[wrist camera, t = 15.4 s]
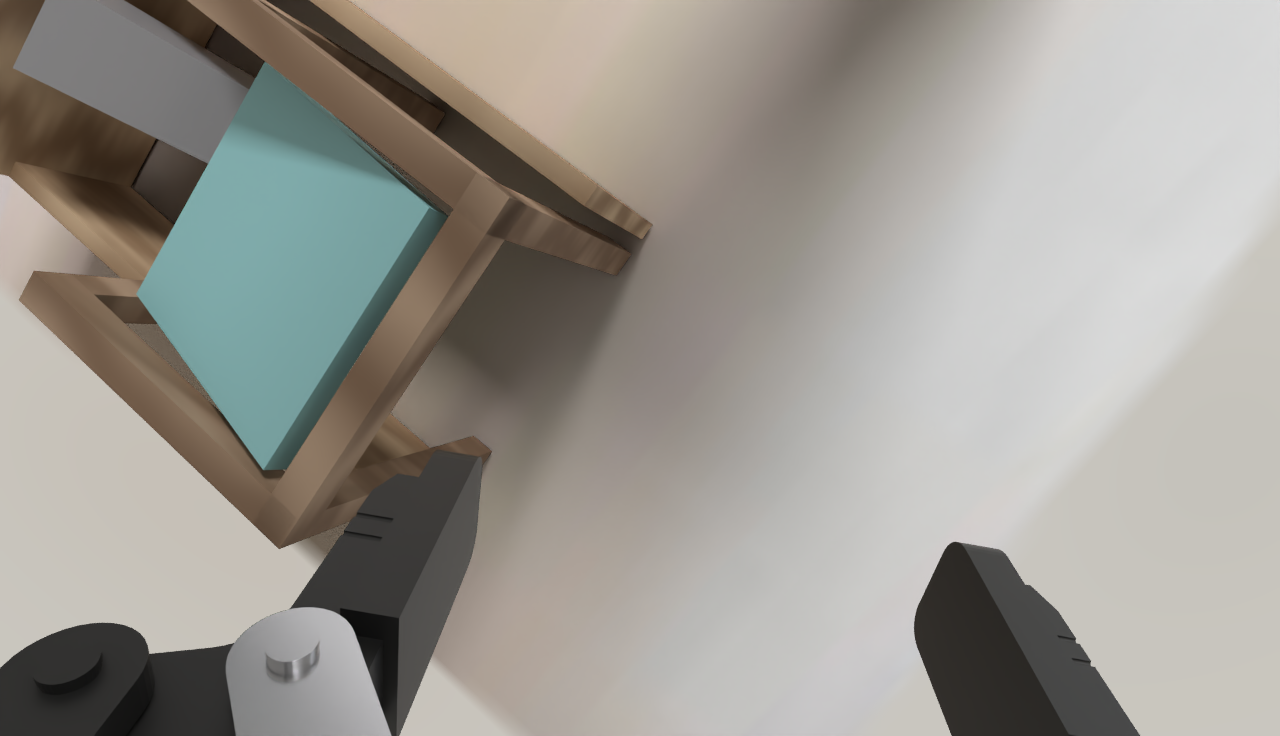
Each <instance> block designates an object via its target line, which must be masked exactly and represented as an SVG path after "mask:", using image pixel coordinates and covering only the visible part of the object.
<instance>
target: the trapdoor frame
mask: <svg viewBox="0 0 1280 736" xmlns="http://www.w3.org/2000/svg"><path fill="white" fill-rule="evenodd" d="M124 1H126V2H128V3H130V4H131V5H133V6H135V7H136V8H138V9H140V10H141V11H143V12H145V13H146V14H148V15H150V16H151V17H153V18H155V19H156V20H158V21H160V22H162V23H163V24H165V25H167V26H168V27H170V28H172V29H173V30H175V31H177V32H178V33H180V34H182V35H183V36H185V37H187V38H188V39H190V40H192V41H193V42H195V43H197V44H199V45H200V46H202V47H204V48H205V46H206V44H207V42H208V40H209V38H210V36H211V34H212V33H213V31H214V29H215V27H216V25H217V24H218V25H219V26H221V27H222V28H223V29H224V30H226V31H227V32H228V33H229V34H231V35H232V36H233V37H235V38H236V39H237V40H238V41H240V42H241V43H242V44H244V45H245V46H246V47H247V48H249V49H250V50H251V51H252V52H254V53H255V54H256V55H258V56H259V57H260V58H261V59H263V60H264V61H265V62H266V63H268V64H269V65H270V66H272V67H273V68H274V69H275V70H277V71H278V72H279V73H281V74H282V75H283V76H284V77H286V78H287V79H288V80H289V81H291V82H292V83H293V84H295V85H296V86H297V87H298V88H300V89H301V90H302V91H304V92H305V93H306V94H307V95H309V96H310V97H311V98H312V99H314V100H315V101H316V102H318V103H319V104H320V105H321V106H323V107H324V108H325V109H326V110H328V111H329V112H330V113H332V114H333V115H334V116H335V117H337V118H338V119H339V120H341V121H342V122H343V123H344V124H346V125H347V126H348V127H349V128H351V129H352V130H353V131H355V132H356V133H357V134H358V135H360V136H361V137H362V138H364V139H365V140H366V141H367V142H369V143H370V144H371V145H372V146H374V147H375V148H376V149H378V150H379V151H380V152H381V153H383V154H384V155H385V156H387V157H388V158H389V159H390V160H392V161H393V162H394V163H395V164H397V165H398V166H399V167H401V168H402V169H403V170H404V171H406V172H407V173H408V174H409V175H411V176H412V177H413V178H415V179H416V180H417V181H418V182H420V183H421V184H422V185H424V186H425V187H426V188H427V189H429V190H430V191H431V192H432V193H434V194H435V195H436V196H438V197H439V198H440V199H441V200H443V201H444V202H445V203H447V204H448V205H449V206H450V207H452V208H453V211H452V212H451V214H450V215H449V217H448V219H447V220H446V222H445V223H444V225H443V226H442V228H441V230H440V231H439V233H438V234H437V236H436V237H435V239H434V240H433V242H432V244H431V245H430V247H429V248H428V250H427V251H426V253H425V255H424V256H423V258H422V259H421V261H420V262H419V264H418V265H417V267H416V269H415V270H414V272H413V273H412V275H411V276H410V278H409V280H408V281H407V283H406V284H405V286H404V287H403V289H402V290H401V292H400V294H399V295H398V297H397V298H396V300H395V301H394V303H393V305H392V306H391V308H390V309H389V311H388V312H387V314H386V315H385V317H384V319H383V320H382V322H381V323H380V325H379V326H378V328H377V330H376V331H375V333H374V334H373V336H372V337H371V339H370V341H369V342H368V344H367V345H366V347H365V348H364V350H363V351H362V353H361V355H360V356H359V358H358V359H357V361H356V362H355V364H354V366H353V367H352V369H351V370H350V372H349V373H348V375H347V376H346V377H345V379H344V380H343V382H342V384H341V385H340V387H339V388H338V390H337V391H336V393H335V395H334V396H333V398H332V399H331V401H330V402H329V404H328V405H327V407H326V409H325V410H324V412H323V413H322V415H321V416H320V418H319V420H318V421H317V423H316V424H315V426H314V427H313V429H312V430H311V432H310V434H309V435H308V437H307V438H306V440H305V441H304V443H303V445H302V447H301V448H300V450H299V452H298V453H297V455H296V456H295V458H294V459H293V461H292V462H291V464H290V466H289V467H288V469H287V470H286V472H285V471H284V470H263V469H262V468H261V466H260V465H259V463H258V462H257V461H256V459H255V458H254V457H253V455H252V454H251V452H250V451H249V450H248V448H247V447H246V445H245V444H244V443H243V441H242V440H241V439H240V437H239V436H238V434H237V433H236V432H235V430H234V429H233V427H232V426H231V425H230V423H229V422H228V421H227V419H226V418H225V416H224V415H223V414H222V413H221V412H220V411H219V410H218V409H217V408H216V407H215V406H213V405H212V404H211V403H210V402H209V401H208V400H207V399H206V398H205V397H204V396H203V395H202V394H200V393H199V392H198V391H197V390H196V389H195V388H194V387H193V386H192V385H191V384H190V383H189V382H188V381H186V380H185V379H184V378H183V377H182V376H181V375H180V374H179V373H178V372H177V371H176V370H175V369H174V368H172V367H171V366H170V365H169V364H168V363H167V362H166V361H165V360H164V359H163V358H162V357H161V356H159V355H158V354H157V353H156V352H155V351H154V350H153V349H152V348H151V347H150V346H149V345H148V344H147V343H145V342H144V341H143V340H142V339H141V338H140V337H139V336H138V335H137V334H136V333H135V332H134V331H133V330H131V329H130V328H129V327H128V326H127V325H126V324H125V323H137V324H157V322H156V321H155V320H154V318H153V317H152V315H151V314H150V313H149V311H148V310H147V308H146V307H145V306H144V304H143V303H142V302H141V300H140V299H139V297H138V296H137V295H136V293H137V292H138V290H139V288H140V286H141V284H142V283H143V281H144V279H145V277H146V275H147V274H148V272H149V270H150V268H151V266H152V265H153V263H154V261H155V259H156V257H157V256H158V254H159V252H160V250H161V248H162V246H163V245H164V243H165V241H166V239H167V237H168V236H169V234H170V232H171V230H172V228H173V227H174V225H173V224H172V223H171V222H170V221H169V220H168V219H166V218H165V217H164V216H163V215H162V214H161V213H160V212H158V211H157V210H156V209H155V208H154V207H153V206H152V205H150V204H149V203H148V202H147V201H146V200H145V199H144V198H142V197H141V196H140V195H139V194H138V193H137V192H135V191H134V190H133V189H132V188H131V185H132V183H133V181H134V179H135V177H136V175H137V173H138V172H139V170H140V168H141V166H142V164H143V162H144V160H145V158H146V157H147V155H148V153H149V151H150V149H151V147H152V145H153V143H154V142H155V140H156V138H155V137H153V136H151V135H148V134H146V133H144V132H142V131H140V130H138V129H136V128H134V127H132V126H130V125H128V124H126V123H124V122H122V121H120V120H118V119H116V118H114V117H112V116H110V115H108V114H106V113H104V112H102V111H100V110H97V109H95V108H93V107H91V106H89V105H87V104H85V103H83V102H81V101H79V100H77V99H75V98H73V97H71V96H69V95H67V94H65V93H63V92H61V91H59V90H57V89H55V88H53V87H51V86H49V85H46V84H44V83H42V82H40V81H38V80H36V79H34V78H32V77H30V76H28V75H26V74H24V73H22V72H20V71H18V70H16V69H14V68H13V66H14V64H15V62H16V60H17V58H18V56H19V54H20V52H21V50H22V47H23V45H24V43H25V41H26V39H27V37H28V35H29V33H30V31H31V29H32V27H33V24H34V22H35V20H36V18H37V16H38V14H39V12H40V10H41V8H42V6H43V4H44V2H45V0H0V174H2V175H7V176H9V177H10V178H12V179H13V180H14V181H15V182H16V183H17V184H18V185H19V186H20V187H21V188H22V189H24V190H25V191H26V192H27V193H28V194H29V195H30V196H31V197H32V198H33V199H35V200H36V201H37V202H38V203H39V204H40V205H41V206H42V207H43V208H44V209H46V210H47V211H48V212H49V213H50V214H51V215H52V216H53V217H54V218H55V219H57V220H58V221H59V222H60V223H61V224H62V225H63V226H64V227H65V228H66V229H68V230H69V231H70V232H71V233H72V234H73V235H74V236H75V237H76V238H77V239H79V240H80V241H81V242H82V243H83V244H84V245H85V246H86V247H87V248H88V249H89V250H91V251H92V252H93V253H94V254H95V255H96V256H97V257H98V258H99V259H100V260H102V261H103V262H104V263H105V264H106V265H107V266H108V267H109V268H110V269H111V270H113V271H114V272H115V273H116V274H117V275H118V276H119V277H120V278H110V277H98V276H87V275H75V274H64V273H52V272H41V271H34V272H33V274H32V276H31V277H30V279H29V281H28V283H27V285H26V287H25V289H24V291H23V293H22V295H21V297H20V299H19V301H20V302H21V303H22V304H24V305H25V306H26V307H27V308H28V309H29V310H30V311H31V312H32V313H33V314H34V315H35V316H36V317H37V318H38V319H39V320H40V321H41V322H42V323H43V324H44V325H45V326H47V327H48V328H49V329H50V330H51V331H52V332H53V333H54V334H55V335H56V336H57V337H58V338H59V339H60V340H61V341H62V342H63V343H64V344H65V345H66V346H67V347H68V348H69V349H71V350H72V351H73V352H74V353H75V354H76V355H77V356H78V357H79V358H80V359H81V360H82V361H83V362H84V363H85V364H86V365H87V366H88V367H89V368H90V369H91V370H92V371H94V372H95V373H96V374H97V375H98V376H99V377H100V378H101V379H102V380H103V381H104V382H105V383H106V384H107V385H108V386H109V387H110V388H111V389H112V390H113V391H114V392H115V393H117V394H118V395H119V396H120V397H121V398H122V399H123V400H124V401H125V402H126V403H127V404H128V405H129V406H130V407H131V408H132V409H133V410H134V411H135V412H136V413H137V414H139V415H140V416H141V417H142V418H143V419H144V420H145V421H146V422H147V423H148V424H149V425H150V426H151V427H152V428H153V429H154V430H155V431H156V432H157V433H158V434H159V435H160V436H161V437H163V438H164V439H165V440H166V441H167V442H168V443H169V444H170V445H171V446H172V447H173V448H174V449H175V450H176V451H177V452H178V453H179V454H180V455H181V456H182V457H183V458H184V459H186V460H187V461H188V462H189V463H190V464H191V465H192V466H193V467H194V468H195V469H196V470H197V471H198V472H199V473H200V474H201V475H202V476H203V477H204V478H205V479H206V480H207V481H209V482H210V483H211V484H212V485H213V486H214V487H215V488H216V489H217V490H218V491H219V492H220V493H221V494H222V495H223V496H224V497H225V498H226V499H227V500H228V501H229V502H230V503H231V504H233V505H234V506H235V507H236V508H237V509H238V510H239V511H240V512H241V513H242V514H243V515H244V516H245V517H246V518H247V519H248V520H249V521H250V522H251V523H252V524H253V525H254V526H256V527H257V528H258V529H259V530H260V531H261V532H262V533H263V534H264V535H265V536H266V537H267V538H268V539H269V540H270V541H271V542H272V543H273V544H274V545H275V546H276V547H278V548H279V549H281V548H283V547H286V546H288V545H291V544H293V543H296V542H298V541H301V540H303V539H306V538H308V537H311V536H314V535H316V534H319V533H321V532H324V531H326V530H329V529H331V528H334V527H336V526H339V525H341V524H344V523H347V522H349V521H351V520H352V519H353V517H356V515H357V511H358V510H359V508H360V507H361V506H362V504H363V503H364V501H365V500H366V498H367V497H368V495H369V494H370V492H371V491H372V490H373V489H375V488H376V487H378V486H379V485H381V484H382V483H384V482H385V481H387V480H389V479H390V478H392V477H393V476H395V475H396V474H404V475H409V476H415V477H419V476H420V474H421V473H422V471H423V469H424V468H425V466H426V464H427V463H428V461H429V459H430V458H431V456H432V454H433V453H434V452H435V451H436V450H437V449H439V450H444V451H450V452H456V453H461V454H467V455H473V456H478V457H481V458H482V465H483V464H484V462H485V461H486V459H487V458H488V456H489V455H490V454H491V452H492V451H491V450H490V449H489V448H487V447H486V446H485V445H484V444H483V443H481V442H480V441H479V440H478V439H477V438H476V437H474V436H472V437H468V438H465V439H461V440H458V441H454V442H451V443H447V444H444V445H440V446H437V447H433V448H429V447H428V446H427V445H426V444H424V443H423V442H422V441H421V440H420V439H419V438H418V437H416V436H415V435H414V434H413V433H412V432H411V431H410V430H408V429H407V428H406V427H405V426H404V425H403V424H401V423H400V422H399V421H398V420H397V419H396V418H395V417H393V416H392V415H391V414H390V412H391V411H392V409H393V408H394V406H395V405H396V403H397V402H398V400H399V399H400V397H401V396H402V394H403V393H404V391H405V390H406V388H407V387H408V385H409V384H410V382H411V381H412V379H413V378H414V376H415V375H416V373H417V372H418V370H419V369H420V367H421V366H422V364H423V363H424V361H425V360H426V358H427V357H428V355H429V354H430V352H431V351H432V349H433V348H434V346H435V345H436V343H437V342H438V340H439V339H440V337H441V336H442V334H443V332H444V331H445V329H446V328H447V326H448V325H449V323H450V322H451V320H452V319H453V317H454V316H455V314H456V313H457V311H458V310H459V308H460V307H461V305H462V304H463V302H464V301H465V299H466V298H467V296H468V295H469V293H470V292H471V290H472V289H473V287H474V286H475V284H476V283H477V281H478V280H479V278H480V277H481V275H482V274H483V272H484V271H485V269H486V268H487V266H488V265H489V263H490V262H491V260H492V259H493V257H494V256H495V254H496V252H497V251H498V249H499V248H500V246H501V245H502V243H503V242H504V240H506V241H509V242H512V243H515V244H518V245H522V246H525V247H528V248H531V249H534V250H537V251H540V252H544V253H547V254H550V255H553V256H556V257H559V258H562V259H566V260H569V261H572V262H575V263H578V264H581V265H584V266H587V267H591V268H594V269H597V270H600V271H603V272H606V273H609V274H613V275H617V274H618V272H619V271H620V270H621V268H622V267H623V265H624V264H625V263H626V261H627V260H628V258H629V257H630V255H631V253H630V252H628V251H627V250H626V249H624V248H623V247H622V246H620V245H619V244H618V243H616V242H615V241H614V240H612V239H611V238H609V237H607V236H605V235H603V234H601V233H599V232H597V231H595V230H593V229H591V228H589V227H587V226H585V225H583V224H580V223H578V222H576V221H574V220H572V219H570V218H568V217H566V216H564V215H562V214H560V213H558V212H556V211H554V210H552V209H550V208H548V207H546V206H544V205H542V204H540V203H538V202H536V201H534V200H532V199H530V198H528V197H526V196H524V195H522V194H520V193H518V192H516V191H514V190H512V189H510V188H508V187H505V186H503V185H501V184H499V183H497V182H496V181H495V180H493V179H492V178H491V177H489V176H488V175H487V174H485V173H484V172H483V171H481V170H480V169H479V168H477V167H476V166H475V165H474V164H472V163H471V162H470V161H468V160H467V159H466V158H464V157H463V156H462V155H460V154H459V153H458V152H456V151H455V150H454V149H453V148H451V147H450V146H449V145H447V144H446V143H445V142H443V141H442V140H441V139H439V138H438V137H437V136H436V135H434V134H433V133H434V131H435V130H436V128H437V126H438V125H439V123H440V121H441V120H442V118H443V117H444V115H445V113H444V112H442V111H441V110H440V109H438V108H437V107H436V106H434V105H433V104H432V103H430V102H429V101H428V100H426V99H425V98H423V97H421V96H420V95H418V94H416V93H415V92H413V91H412V90H410V89H408V88H407V87H405V86H403V85H402V84H400V83H399V82H397V81H395V80H394V79H392V78H390V77H389V76H387V75H386V74H384V73H382V72H381V71H379V70H377V69H376V68H374V67H373V66H371V65H369V64H368V63H366V62H365V61H363V60H361V59H360V58H358V57H356V56H355V55H353V54H352V53H350V52H348V51H347V50H345V49H343V48H342V47H340V46H339V45H337V44H335V43H334V42H332V41H330V40H329V39H327V38H326V37H324V36H322V35H321V34H319V33H318V32H316V31H314V30H313V29H311V28H309V27H308V26H306V25H305V24H303V23H301V22H300V21H298V20H296V19H295V18H293V17H292V16H290V15H288V14H287V13H285V12H283V11H282V10H280V9H279V8H277V7H275V6H274V5H272V4H270V3H269V2H267V1H266V0H124ZM310 1H311V2H312V3H314V4H315V5H316V6H318V7H319V8H320V9H322V10H323V11H324V12H326V13H327V14H328V15H330V16H331V17H332V18H334V19H335V20H336V21H338V22H339V23H340V24H342V25H343V26H344V27H346V28H347V29H348V30H350V31H351V32H352V33H354V34H355V35H356V36H358V37H359V38H360V39H362V40H363V41H364V42H366V43H367V44H368V45H370V46H371V47H372V48H374V49H375V50H376V51H378V52H379V53H380V54H382V55H383V56H384V57H386V58H387V59H388V60H390V61H391V62H392V63H394V64H395V65H396V66H398V67H399V68H400V69H402V70H403V71H404V72H406V73H407V74H408V75H410V76H411V77H412V78H414V79H415V80H416V81H418V82H419V83H420V84H422V85H423V86H425V87H426V88H427V89H429V90H430V91H431V92H433V93H434V94H435V95H437V96H438V97H439V98H441V99H442V100H443V101H445V102H446V103H447V104H449V105H450V106H451V107H453V108H454V109H455V110H457V111H458V112H459V113H461V114H462V115H463V116H465V117H466V118H467V119H469V120H470V121H471V122H473V123H474V124H475V125H477V126H478V127H479V128H481V129H482V130H483V131H485V132H486V133H487V134H489V135H490V136H491V137H493V138H494V139H495V140H497V141H498V142H499V143H501V144H502V145H503V146H505V147H506V148H507V149H509V150H510V151H511V152H513V153H514V154H515V155H517V156H518V157H519V158H521V159H522V160H523V161H525V162H526V163H527V164H529V165H530V166H531V167H533V168H534V169H535V170H537V171H538V172H539V173H541V174H542V175H543V176H545V177H546V178H547V179H549V180H550V181H551V182H553V183H554V184H555V185H557V186H558V187H559V188H561V189H562V190H563V191H565V192H566V193H567V194H569V195H570V196H571V197H573V198H574V199H575V200H577V201H578V202H579V203H581V204H582V205H583V206H585V207H587V208H588V209H590V210H592V211H594V212H595V213H597V214H599V215H601V216H602V217H604V218H606V219H608V220H609V221H611V222H613V223H614V224H616V225H618V226H620V227H621V228H623V229H625V230H627V231H628V232H630V233H632V234H633V235H635V236H637V237H639V238H640V239H643V237H644V236H645V234H646V233H647V231H648V230H649V229H650V227H651V226H652V224H651V223H649V222H648V221H647V220H645V219H644V218H643V217H641V216H640V215H639V214H637V213H636V212H635V211H633V210H632V209H631V208H629V207H628V206H626V205H625V204H624V203H622V202H621V201H620V200H618V199H617V198H616V197H614V196H613V195H612V194H610V193H609V192H608V191H606V190H605V189H603V188H602V187H601V186H599V185H598V184H597V183H595V182H594V181H593V180H591V179H590V178H589V177H587V176H586V175H584V174H583V173H582V172H580V171H579V170H578V169H576V168H575V167H574V166H572V165H571V164H570V163H568V162H567V161H566V160H564V159H563V158H561V157H560V156H559V155H557V154H556V153H555V152H553V151H552V150H551V149H549V148H548V147H547V146H545V145H544V144H542V143H541V142H540V141H538V140H537V139H536V138H534V137H533V136H532V135H530V134H529V133H528V132H526V131H525V130H524V129H522V128H521V127H519V126H518V125H517V124H515V123H514V122H513V121H511V120H510V119H509V118H507V117H506V116H505V115H503V114H502V113H501V112H499V111H498V110H496V109H495V108H494V107H492V106H491V105H490V104H488V103H487V102H486V101H484V100H483V99H482V98H480V97H479V96H477V95H476V94H475V93H473V92H472V91H471V90H469V89H468V88H467V87H465V86H464V85H463V84H461V83H460V82H459V81H457V80H456V79H454V78H453V77H452V76H450V75H449V74H448V73H446V72H445V71H444V70H442V69H441V68H440V67H438V66H437V65H435V64H434V63H433V62H431V61H430V60H429V59H427V58H426V57H425V56H423V55H422V54H421V53H419V52H418V51H417V50H415V49H414V48H412V47H411V46H410V45H408V44H407V43H406V42H404V41H403V40H402V39H400V38H399V37H398V36H396V35H395V34H393V33H392V32H391V31H389V30H388V29H387V28H385V27H384V26H383V25H381V24H380V23H379V22H377V21H376V20H375V19H373V18H372V17H370V16H369V15H368V14H366V13H365V12H364V11H362V10H361V9H360V8H358V7H357V6H356V5H354V4H353V3H352V2H350V1H349V0H310Z"/></svg>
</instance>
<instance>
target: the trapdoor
mask: <svg viewBox="0 0 1280 736" xmlns="http://www.w3.org/2000/svg"><path fill="white" fill-rule="evenodd" d="M447 218H448V216H447V215H446V214H445V213H444V212H443V211H442V210H441V209H439V208H438V207H437V206H436V205H435V204H434V203H433V202H432V201H430V200H429V199H428V198H427V197H426V196H425V195H424V194H422V193H421V192H420V191H419V190H418V189H417V188H416V187H415V186H413V185H412V184H411V183H410V182H409V181H408V180H407V179H405V178H404V177H403V176H402V175H401V174H400V173H399V172H398V171H396V170H395V169H394V168H393V167H392V166H391V165H390V164H388V163H387V162H386V161H385V160H384V159H383V158H382V157H380V156H379V155H378V154H377V153H376V152H375V151H374V150H373V149H371V148H370V147H369V146H368V145H367V144H366V143H365V142H363V141H362V140H361V139H360V138H359V137H358V136H357V135H356V134H354V133H353V132H352V131H351V130H350V129H349V128H348V127H346V126H345V125H344V124H343V123H342V122H341V121H340V120H339V119H337V118H336V117H335V116H334V115H333V114H332V113H330V112H329V111H328V110H326V109H325V108H324V107H323V106H321V105H320V104H319V103H318V102H316V101H315V100H314V99H312V98H311V97H310V96H309V95H307V94H306V93H305V92H304V91H302V90H301V89H300V88H298V87H297V86H296V85H295V84H293V83H292V82H291V81H289V80H288V79H287V78H286V77H284V76H283V75H282V74H281V73H279V72H278V71H277V70H275V69H274V68H273V67H272V66H270V65H269V64H268V63H266V62H264V64H263V66H262V68H261V69H260V71H259V73H258V75H257V77H256V78H255V80H254V82H253V84H252V86H251V87H250V89H249V91H248V93H247V95H246V96H245V98H244V100H243V102H242V104H241V105H240V107H239V109H238V111H237V113H236V115H235V116H234V118H233V120H232V122H231V124H230V125H229V127H228V129H227V131H226V133H225V134H224V136H223V138H222V140H221V142H220V143H219V145H218V147H217V149H216V151H215V152H214V154H213V156H212V158H211V160H210V162H209V163H208V165H207V167H206V169H205V171H204V172H203V174H202V176H201V178H200V180H199V181H198V183H197V185H196V187H195V189H194V190H193V192H192V194H191V196H190V198H189V199H188V201H187V203H186V205H185V207H184V209H183V210H182V212H181V214H180V216H179V218H178V219H177V221H176V223H175V225H174V227H173V228H172V230H171V232H170V234H169V236H168V237H167V239H166V241H165V243H164V245H163V246H162V248H161V250H160V252H159V254H158V256H157V257H156V259H155V261H154V263H153V265H152V266H151V268H150V270H149V272H148V274H147V275H146V277H145V279H144V281H143V283H142V284H141V286H140V288H139V290H138V292H137V293H136V295H137V296H138V297H139V299H140V300H141V302H142V303H143V304H144V306H145V307H146V308H147V310H148V311H149V313H150V314H151V315H152V317H153V318H154V320H155V321H156V322H157V324H158V325H159V326H160V328H161V329H162V331H163V332H164V333H165V335H166V336H167V338H168V339H169V340H170V342H171V343H172V344H173V346H174V347H175V349H176V350H177V351H178V353H179V354H180V356H181V357H182V358H183V360H184V361H185V362H186V364H187V365H188V367H189V368H190V369H191V371H192V372H193V373H194V375H195V376H196V378H197V379H198V380H199V382H200V383H201V385H202V386H203V387H204V389H205V390H206V391H207V393H208V394H209V396H210V397H211V398H212V400H213V401H214V403H215V404H216V405H217V407H218V408H219V409H220V411H221V412H222V414H223V415H224V416H225V418H226V419H227V421H228V422H229V423H230V425H231V426H232V427H233V429H234V430H235V432H236V433H237V434H238V436H239V437H240V439H241V440H242V441H243V443H244V444H245V445H246V447H247V448H248V450H249V451H250V452H251V454H252V455H253V457H254V458H255V459H256V461H257V462H258V463H259V465H260V466H261V468H262V469H263V470H284V469H287V468H288V466H289V465H290V463H291V462H292V460H293V459H294V457H295V456H296V454H297V452H298V451H299V449H300V448H301V446H302V445H303V443H304V441H305V440H306V438H307V437H308V435H309V434H310V432H311V430H312V429H313V427H314V426H315V424H316V423H317V421H318V420H319V418H320V416H321V415H322V413H323V412H324V410H325V409H326V407H327V405H328V404H329V402H330V401H331V399H332V398H333V396H334V395H335V393H336V391H337V390H338V388H339V387H340V385H341V384H342V382H343V380H344V379H345V377H346V376H347V374H348V373H349V371H350V369H351V368H352V366H353V365H354V363H355V362H356V360H357V359H358V357H359V355H360V354H361V352H362V351H363V349H364V348H365V346H366V344H367V343H368V341H369V340H370V338H371V337H372V335H373V334H374V332H375V330H376V329H377V327H378V326H379V324H380V323H381V321H382V319H383V318H384V316H385V315H386V313H387V312H388V310H389V309H390V307H391V305H392V304H393V302H394V301H395V299H396V298H397V296H398V294H399V293H400V291H401V290H402V288H403V287H404V285H405V283H406V282H407V280H408V279H409V277H410V276H411V274H412V273H413V271H414V269H415V268H416V266H417V265H418V263H419V262H420V260H421V258H422V257H423V255H424V254H425V252H426V251H427V249H428V248H429V246H430V244H431V243H432V241H433V240H434V238H435V237H436V235H437V233H438V232H439V230H440V229H441V227H442V226H443V224H444V222H445V221H446V219H447Z"/></svg>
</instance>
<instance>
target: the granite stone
mask: <svg viewBox="0 0 1280 736" xmlns="http://www.w3.org/2000/svg"><path fill="white" fill-rule="evenodd" d="M13 68H14V69H16V70H18V71H20V72H22V73H24V74H26V75H28V76H30V77H32V78H34V79H36V80H38V81H40V82H42V83H44V84H46V85H49V86H51V87H53V88H55V89H57V90H59V91H61V92H63V93H65V94H67V95H69V96H71V97H73V98H75V99H77V100H79V101H81V102H83V103H85V104H87V105H89V106H91V107H93V108H95V109H97V110H100V111H102V112H104V113H106V114H108V115H110V116H112V117H114V118H116V119H118V120H120V121H122V122H124V123H126V124H128V125H130V126H132V127H134V128H136V129H138V130H140V131H142V132H144V133H146V134H148V135H151V136H153V137H155V138H157V139H159V140H161V141H163V142H165V143H167V144H169V145H171V146H173V147H175V148H177V149H179V150H181V151H183V152H185V153H187V154H189V155H191V156H193V157H195V158H197V159H199V160H201V161H204V162H206V163H209V162H210V160H211V158H212V156H213V154H214V152H215V151H216V149H217V147H218V145H219V143H220V142H221V140H222V138H223V136H224V134H225V133H226V131H227V129H228V127H229V125H230V124H231V122H232V120H233V118H234V116H235V115H236V113H237V111H238V109H239V107H240V105H241V104H242V102H243V100H244V98H245V96H246V95H247V93H248V91H249V89H250V87H251V86H252V84H253V82H254V80H255V78H254V77H252V76H251V75H249V74H247V73H246V72H244V71H242V70H241V69H239V68H237V67H236V66H234V65H232V64H231V63H229V62H227V61H225V60H224V59H222V58H220V57H219V56H217V55H215V54H214V53H212V52H210V51H209V50H207V49H205V48H204V47H202V46H200V45H199V44H197V43H195V42H193V41H192V40H190V39H188V38H187V37H185V36H183V35H182V34H180V33H178V32H177V31H175V30H173V29H172V28H170V27H168V26H167V25H165V24H163V23H162V22H160V21H158V20H156V19H155V18H153V17H151V16H150V15H148V14H146V13H145V12H143V11H141V10H140V9H138V8H136V7H135V6H133V5H131V4H130V3H128V2H126V1H124V0H45V2H44V4H43V6H42V8H41V10H40V12H39V14H38V16H37V18H36V20H35V22H34V24H33V27H32V29H31V31H30V33H29V35H28V37H27V39H26V41H25V43H24V45H23V47H22V50H21V52H20V54H19V56H18V58H17V60H16V62H15V64H14V66H13Z"/></svg>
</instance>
